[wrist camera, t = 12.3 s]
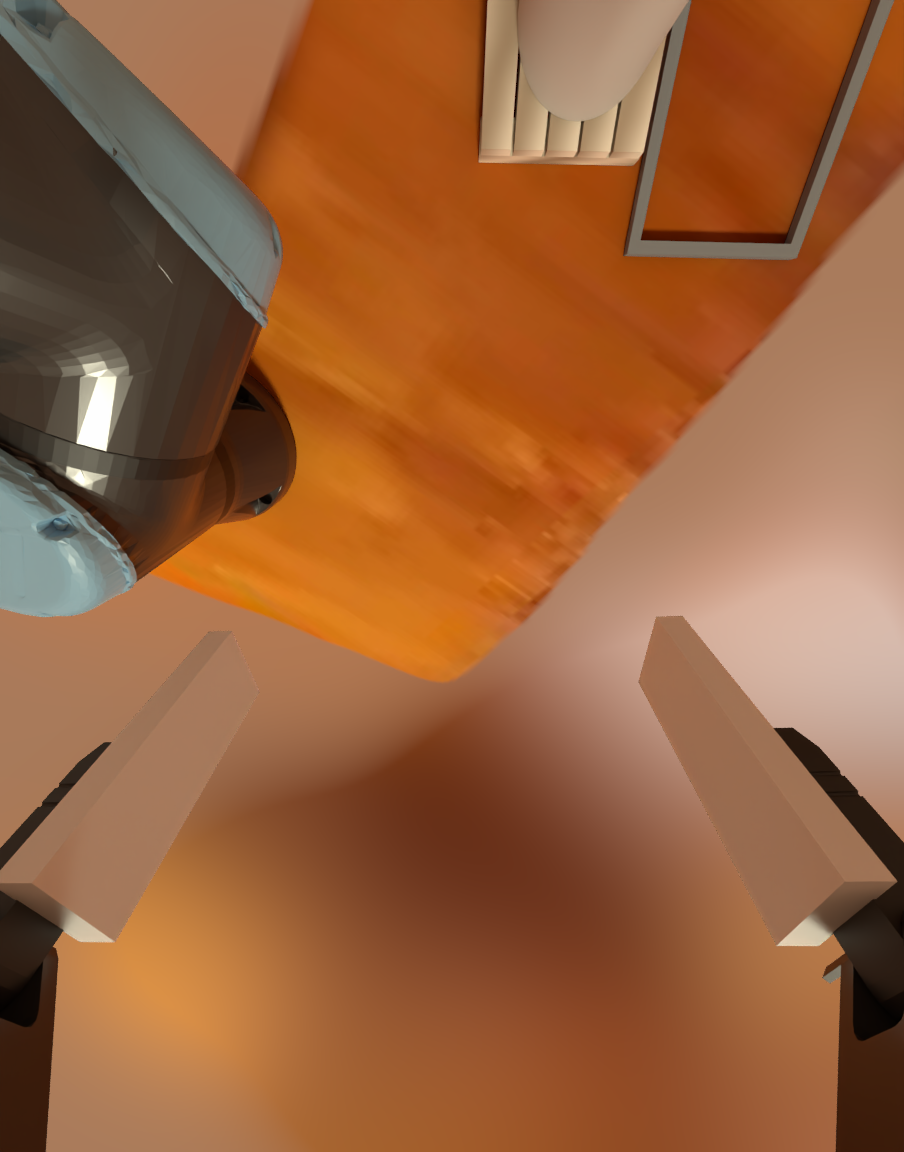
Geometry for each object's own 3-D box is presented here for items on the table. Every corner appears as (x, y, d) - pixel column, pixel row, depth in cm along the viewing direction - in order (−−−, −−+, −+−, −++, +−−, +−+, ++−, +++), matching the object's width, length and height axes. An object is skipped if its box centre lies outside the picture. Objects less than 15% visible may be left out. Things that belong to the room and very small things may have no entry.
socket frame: (623, 255, 30) (627, 253, 29) (687, -71, 22) (694, -84, 22) (789, 259, 30) (796, 257, 29) (910, -68, 22) (924, -81, 22)
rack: (478, 162, 28) (479, 148, 26) (492, -168, 21) (495, -219, 19) (632, 165, 27) (644, 152, 26) (695, -166, 21) (718, -217, 19)
